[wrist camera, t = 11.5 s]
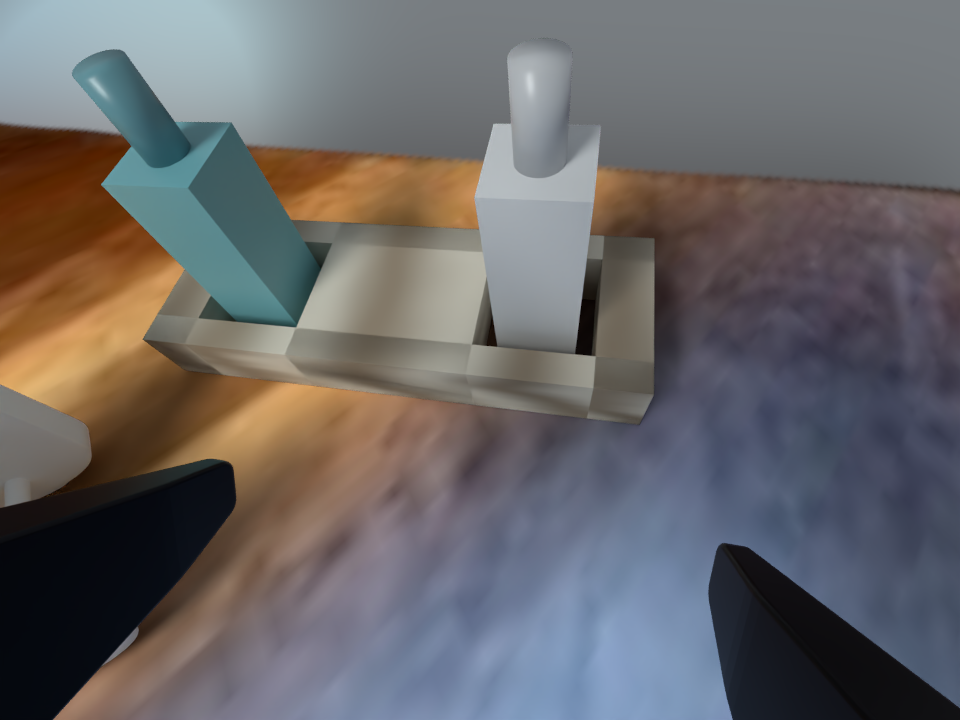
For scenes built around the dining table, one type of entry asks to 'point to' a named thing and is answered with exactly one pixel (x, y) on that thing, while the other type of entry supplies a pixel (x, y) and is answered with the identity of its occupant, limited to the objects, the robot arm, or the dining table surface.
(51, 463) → the cable organizer
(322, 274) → the slot rack
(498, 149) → the grey plug
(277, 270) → the teal plug
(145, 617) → the robot arm
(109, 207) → the dining table surface
